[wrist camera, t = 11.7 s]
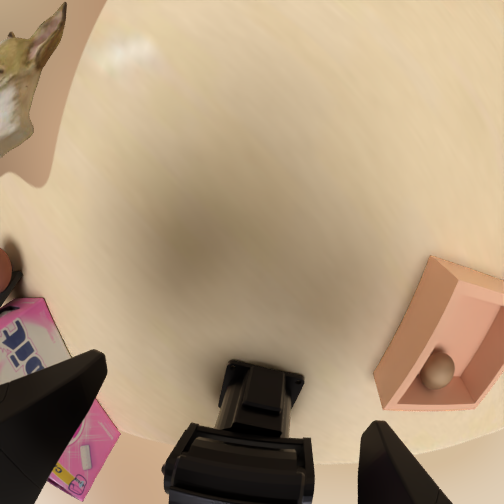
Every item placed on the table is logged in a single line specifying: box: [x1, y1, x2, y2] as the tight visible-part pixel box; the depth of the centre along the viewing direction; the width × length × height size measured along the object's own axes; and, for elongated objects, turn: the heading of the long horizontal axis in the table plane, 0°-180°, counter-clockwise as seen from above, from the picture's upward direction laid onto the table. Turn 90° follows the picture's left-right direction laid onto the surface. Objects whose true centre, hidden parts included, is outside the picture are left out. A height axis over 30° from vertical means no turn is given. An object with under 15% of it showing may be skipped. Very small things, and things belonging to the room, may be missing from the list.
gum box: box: [0, 298, 121, 502], centre depth 21 cm, size 24×8×14 cm, turn 10°
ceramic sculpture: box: [0, 2, 67, 158], centre depth 13 cm, size 11×9×15 cm
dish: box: [373, 255, 504, 411], centre depth 17 cm, size 11×11×5 cm
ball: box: [420, 352, 455, 390], centre depth 18 cm, size 3×3×3 cm
